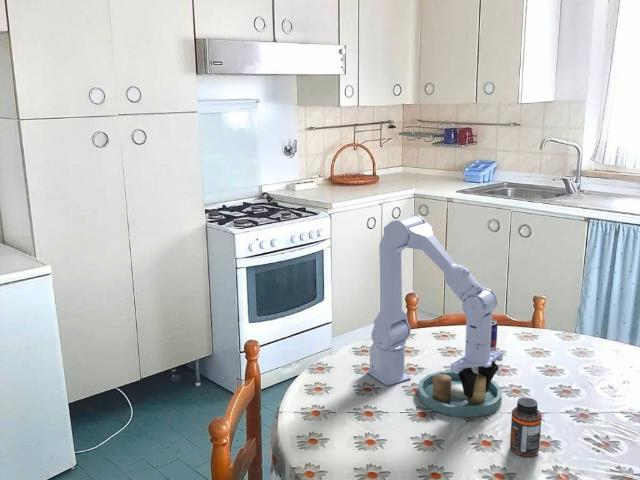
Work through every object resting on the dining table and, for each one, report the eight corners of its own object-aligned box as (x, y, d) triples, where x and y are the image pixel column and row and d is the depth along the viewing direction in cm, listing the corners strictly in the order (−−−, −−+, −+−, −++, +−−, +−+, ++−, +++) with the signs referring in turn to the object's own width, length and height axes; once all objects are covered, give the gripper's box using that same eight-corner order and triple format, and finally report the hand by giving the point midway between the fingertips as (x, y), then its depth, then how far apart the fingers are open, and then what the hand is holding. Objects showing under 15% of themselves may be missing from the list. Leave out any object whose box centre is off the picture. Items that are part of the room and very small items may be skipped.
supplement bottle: (505, 443, 140) (508, 395, 138) (532, 441, 141) (535, 393, 138) (515, 458, 135) (519, 409, 132) (543, 456, 135) (547, 407, 132)
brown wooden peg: (442, 394, 161) (443, 372, 159) (454, 402, 157) (455, 379, 156) (428, 399, 159) (429, 376, 157) (440, 406, 155) (441, 383, 154)
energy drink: (496, 366, 177) (498, 325, 175) (475, 365, 178) (477, 324, 176) (494, 358, 182) (497, 318, 180) (475, 357, 184) (477, 317, 181)
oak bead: (462, 398, 156) (463, 375, 155) (476, 394, 158) (477, 371, 157) (475, 406, 153) (476, 382, 151) (489, 401, 155) (490, 378, 153)
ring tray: (402, 390, 165) (402, 382, 164) (462, 372, 174) (463, 364, 173) (455, 425, 148) (455, 416, 147) (518, 403, 157) (519, 394, 156)
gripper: (466, 353, 145) (463, 408, 148) (513, 340, 152) (510, 393, 155) (445, 342, 151) (443, 395, 154) (491, 330, 158) (489, 381, 161)
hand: (475, 393), depth 155 cm, fingers closed on oak bead, 4 cm apart
